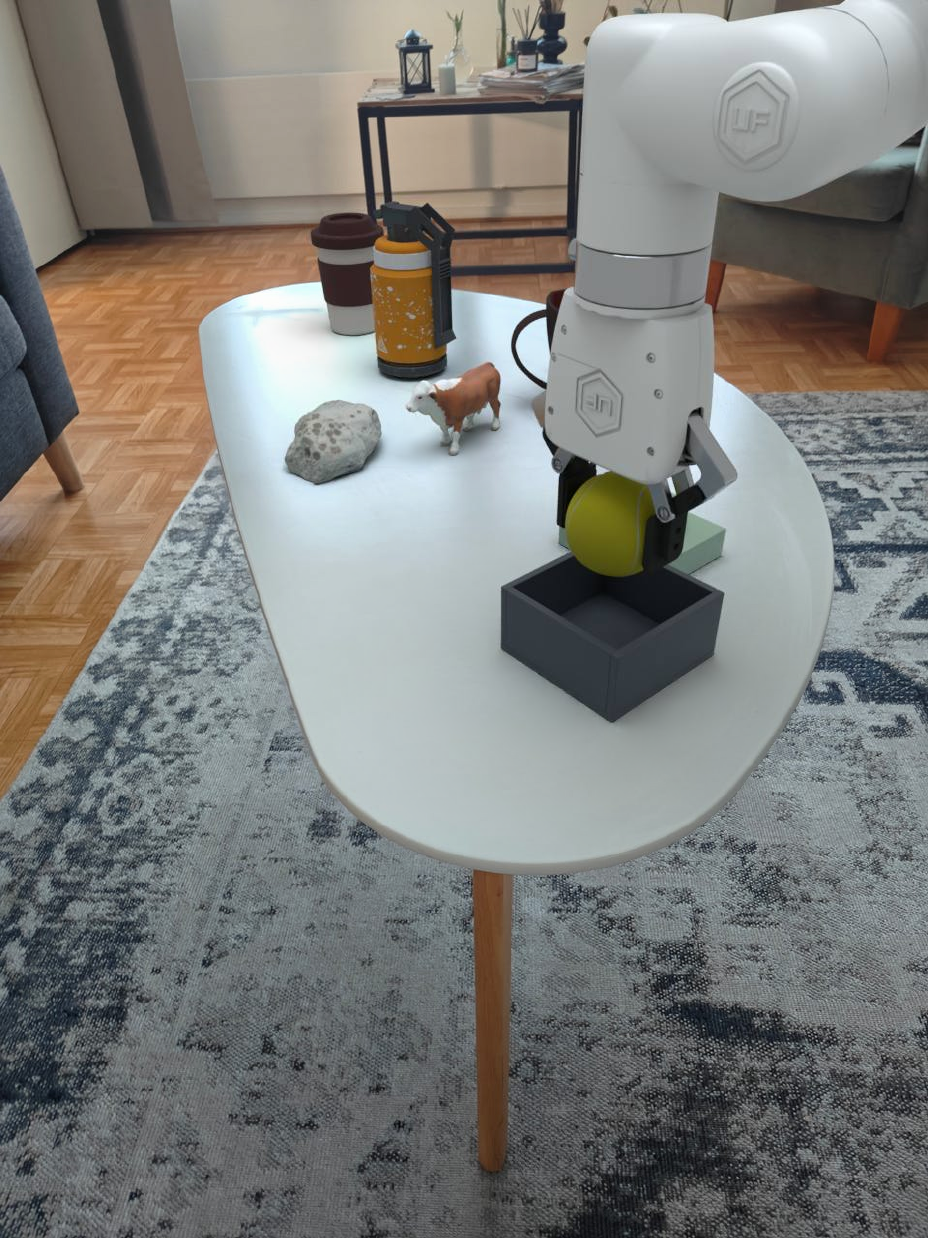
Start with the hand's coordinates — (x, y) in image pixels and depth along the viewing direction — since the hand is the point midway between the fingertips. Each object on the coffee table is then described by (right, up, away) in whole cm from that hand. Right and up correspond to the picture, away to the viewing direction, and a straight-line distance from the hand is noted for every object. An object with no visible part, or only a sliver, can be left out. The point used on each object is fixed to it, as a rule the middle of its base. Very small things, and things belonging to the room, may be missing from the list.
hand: (616, 540), depth 62 cm
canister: (-16, +26, +54) cm, 63 cm away
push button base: (+5, +1, +17) cm, 18 cm away
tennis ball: (0, -2, +1) cm, 2 cm away
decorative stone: (-24, +12, +34) cm, 43 cm away
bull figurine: (-11, +14, +37) cm, 41 cm away
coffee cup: (-26, +37, +69) cm, 82 cm away
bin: (0, -8, +6) cm, 10 cm away
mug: (+2, +20, +44) cm, 48 cm away
